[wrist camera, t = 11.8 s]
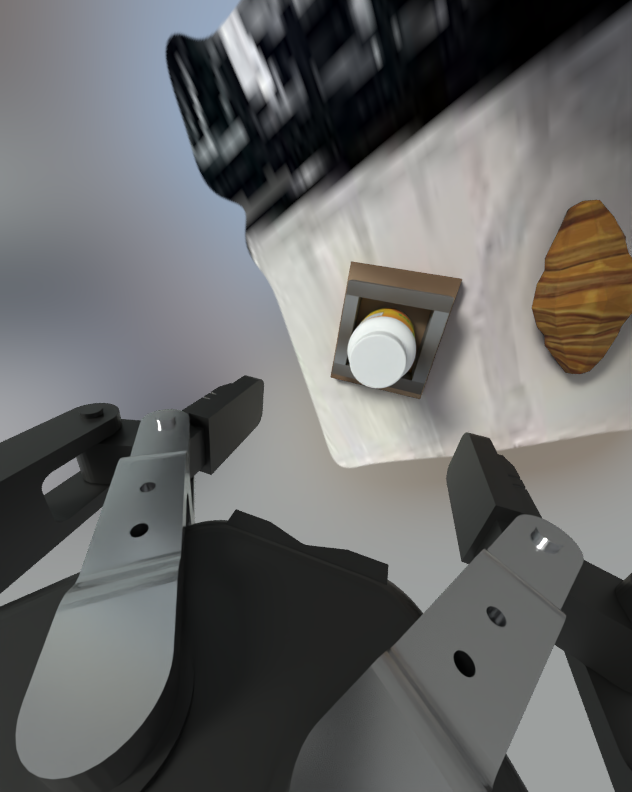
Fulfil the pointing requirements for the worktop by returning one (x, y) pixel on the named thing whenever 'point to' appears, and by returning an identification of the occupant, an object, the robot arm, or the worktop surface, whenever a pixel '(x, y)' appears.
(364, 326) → the supplement bottle
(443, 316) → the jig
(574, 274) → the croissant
